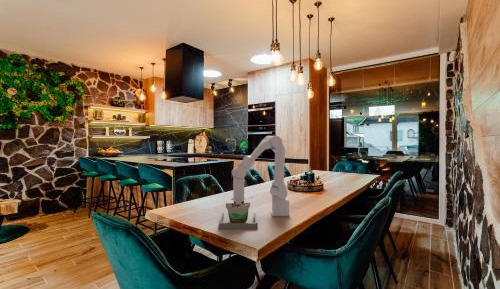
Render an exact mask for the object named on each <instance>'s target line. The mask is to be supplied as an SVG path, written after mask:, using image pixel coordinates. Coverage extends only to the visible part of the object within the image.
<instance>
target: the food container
mask: <svg viewBox="0 0 500 289" xmlns="http://www.w3.org/2000/svg"><path fill="white" fill-rule="evenodd" d="M250 207H251V202H250V201H248V202H244V203H241V204H237V203H234V202H233V203H230V202H229V203H228V202H226V203H225V208H226V209H227V214H228V220H229V223H247V221H248V219H249V218H248V217H249V216H248V215H249V210H250Z"/></svg>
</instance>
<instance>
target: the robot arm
mask: <svg viewBox="0 0 500 289" xmlns="http://www.w3.org/2000/svg"><path fill="white" fill-rule="evenodd" d="M269 149H271V150H272V152H274V173H273V181H272V183H271V186H270V189H269V193H270V195H271V210H270V214H271V216H272V217H290V199H289V198H287V197H288V190H287V184H286V183H285V160H286V159H285V158H286V149H285V146H284V142H283V139H282V138H281V137H280V136H278V135H266V136H265V137H264V138H263V139H262V140H261V141H260V142H259V144H258V145H257V147H255V148H254V150H253V151H252V153H251V154H250V155H246V156H244V157H243V158H242V160H241V162H239V163H238V164H237V166H236V167H235V166H234V168H233V169H232V170H231V176H232V178H233V180H232V183H233V186H232V187H233V189H232V190H233V191H232V196H233V197H231V198H230V200H231V201H233V203H237V204H241V203H245V200H246V199H245V177H246V176H247V172H248V171H249V170H250V169H251V168H252V167H253V166H254V165H255V162H256V161H255V160H256V159H257V158H259V157H260V155H261V154H262V153H263V152H264V151H265V150H269Z"/></svg>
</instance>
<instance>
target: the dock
mask: <svg viewBox="0 0 500 289" xmlns="http://www.w3.org/2000/svg"><path fill="white" fill-rule="evenodd" d="M224 220H225V213H224V212H222V213H221V215H220V218H219V224H218V227H219V230H253V229H254V230H255V229H256V230H257V229H259V228H258V227H259V225H258V224H259V223H258V218H257V213H256V212H253V221H254V222H245V223H231V222H224Z"/></svg>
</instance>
